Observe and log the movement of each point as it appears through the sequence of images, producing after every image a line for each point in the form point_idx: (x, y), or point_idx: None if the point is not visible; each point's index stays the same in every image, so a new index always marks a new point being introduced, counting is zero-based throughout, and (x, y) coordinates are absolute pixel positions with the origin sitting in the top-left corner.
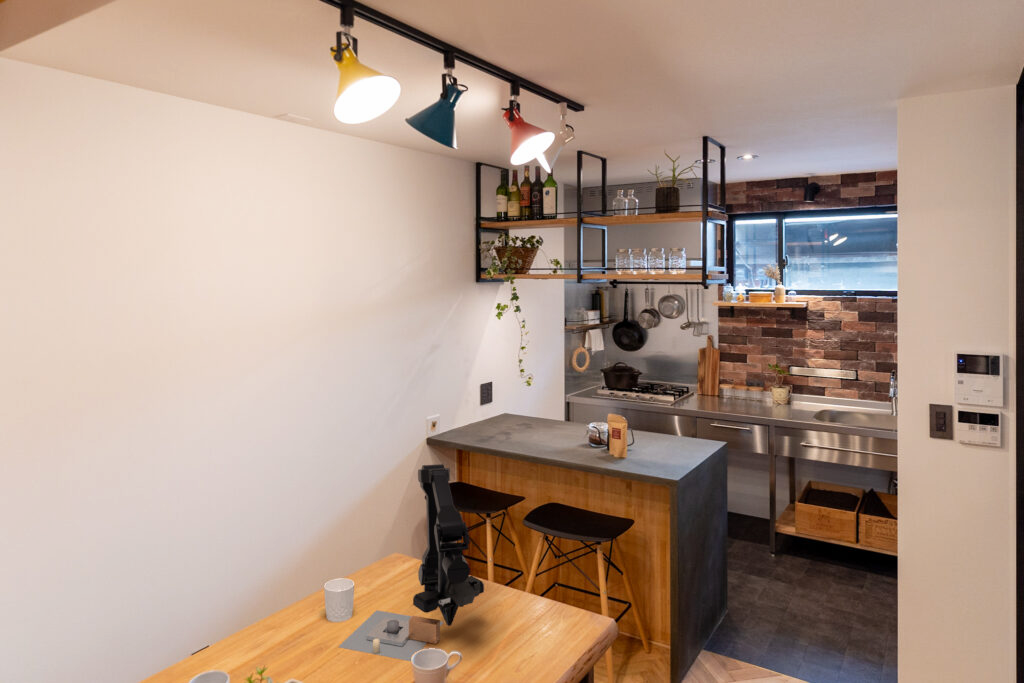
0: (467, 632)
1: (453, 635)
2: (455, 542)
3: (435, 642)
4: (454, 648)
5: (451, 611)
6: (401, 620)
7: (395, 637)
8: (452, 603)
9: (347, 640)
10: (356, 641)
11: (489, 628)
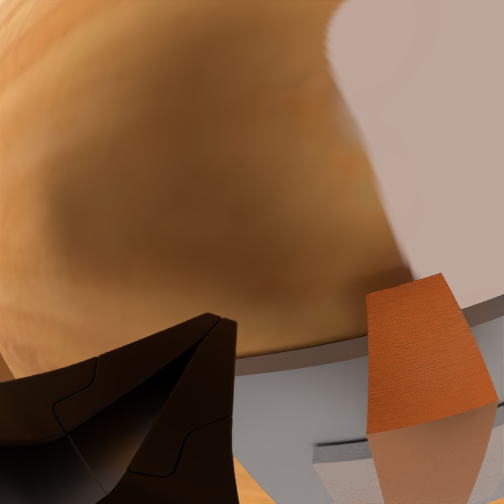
0: (132, 222)
1: (212, 270)
2: None
3: (445, 282)
4: (338, 146)
5: (129, 416)
6: (334, 502)
7: (488, 455)
8: (51, 488)
9: (497, 497)
10: (500, 487)
11: (48, 161)
